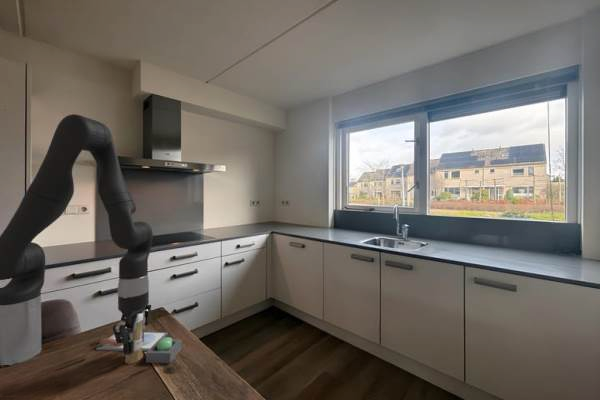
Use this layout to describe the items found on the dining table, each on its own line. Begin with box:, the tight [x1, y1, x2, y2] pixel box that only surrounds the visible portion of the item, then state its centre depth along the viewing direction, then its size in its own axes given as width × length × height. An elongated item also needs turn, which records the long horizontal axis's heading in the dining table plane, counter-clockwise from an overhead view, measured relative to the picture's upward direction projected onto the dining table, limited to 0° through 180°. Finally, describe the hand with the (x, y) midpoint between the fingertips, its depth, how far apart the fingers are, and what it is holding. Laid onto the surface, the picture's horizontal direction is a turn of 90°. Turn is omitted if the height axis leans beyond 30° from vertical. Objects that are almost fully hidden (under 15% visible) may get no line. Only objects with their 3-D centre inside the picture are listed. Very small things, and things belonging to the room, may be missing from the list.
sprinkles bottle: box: [124, 313, 144, 364], centre depth 76 cm, size 5×5×13 cm
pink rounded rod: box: [100, 337, 123, 346], centre depth 81 cm, size 7×2×2 cm, turn 90°
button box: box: [145, 338, 183, 364], centre depth 78 cm, size 7×7×3 cm
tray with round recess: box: [95, 331, 169, 353], centre depth 84 cm, size 17×10×1 cm, turn 89°
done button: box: [157, 336, 173, 351], centre depth 78 cm, size 4×4×3 cm
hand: (133, 348), depth 76 cm, fingers closed on sprinkles bottle, 4 cm apart
